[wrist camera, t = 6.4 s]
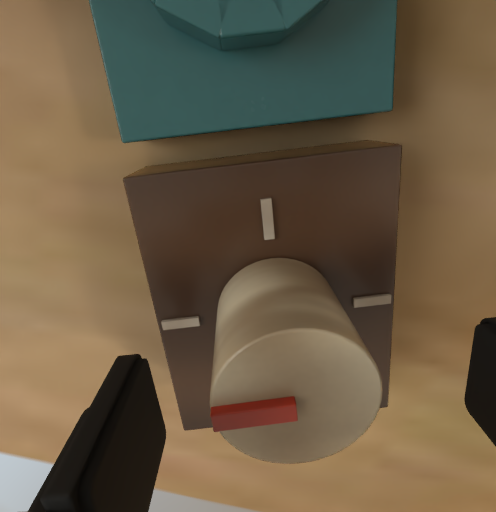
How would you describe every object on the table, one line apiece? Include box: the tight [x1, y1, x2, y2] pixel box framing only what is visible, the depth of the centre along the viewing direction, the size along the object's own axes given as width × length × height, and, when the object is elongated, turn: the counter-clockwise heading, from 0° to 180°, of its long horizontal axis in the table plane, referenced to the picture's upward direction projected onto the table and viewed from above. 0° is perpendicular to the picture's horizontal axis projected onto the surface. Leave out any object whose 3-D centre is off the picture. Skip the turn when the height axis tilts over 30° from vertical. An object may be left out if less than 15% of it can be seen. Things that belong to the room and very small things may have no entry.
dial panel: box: [123, 140, 402, 430], centre depth 14 cm, size 11×9×3 cm
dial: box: [210, 258, 382, 464], centre depth 11 cm, size 4×4×5 cm
